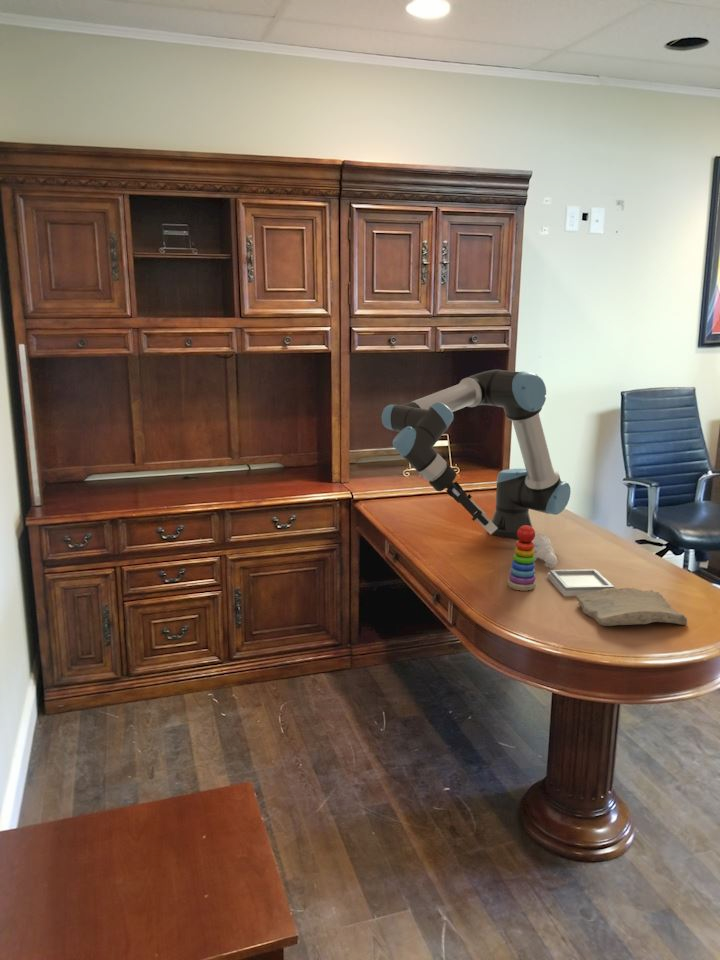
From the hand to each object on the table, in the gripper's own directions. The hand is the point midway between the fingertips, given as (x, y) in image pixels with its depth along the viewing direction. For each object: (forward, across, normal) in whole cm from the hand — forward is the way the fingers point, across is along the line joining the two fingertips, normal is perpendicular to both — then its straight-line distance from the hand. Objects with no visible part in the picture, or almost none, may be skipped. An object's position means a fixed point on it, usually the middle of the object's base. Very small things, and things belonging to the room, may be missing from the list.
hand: (488, 524), depth 211 cm
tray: (+34, 0, +6) cm, 34 cm away
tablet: (+38, +23, +10) cm, 45 cm away
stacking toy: (+21, 0, -6) cm, 22 cm away
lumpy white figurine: (+31, -19, +3) cm, 36 cm away
